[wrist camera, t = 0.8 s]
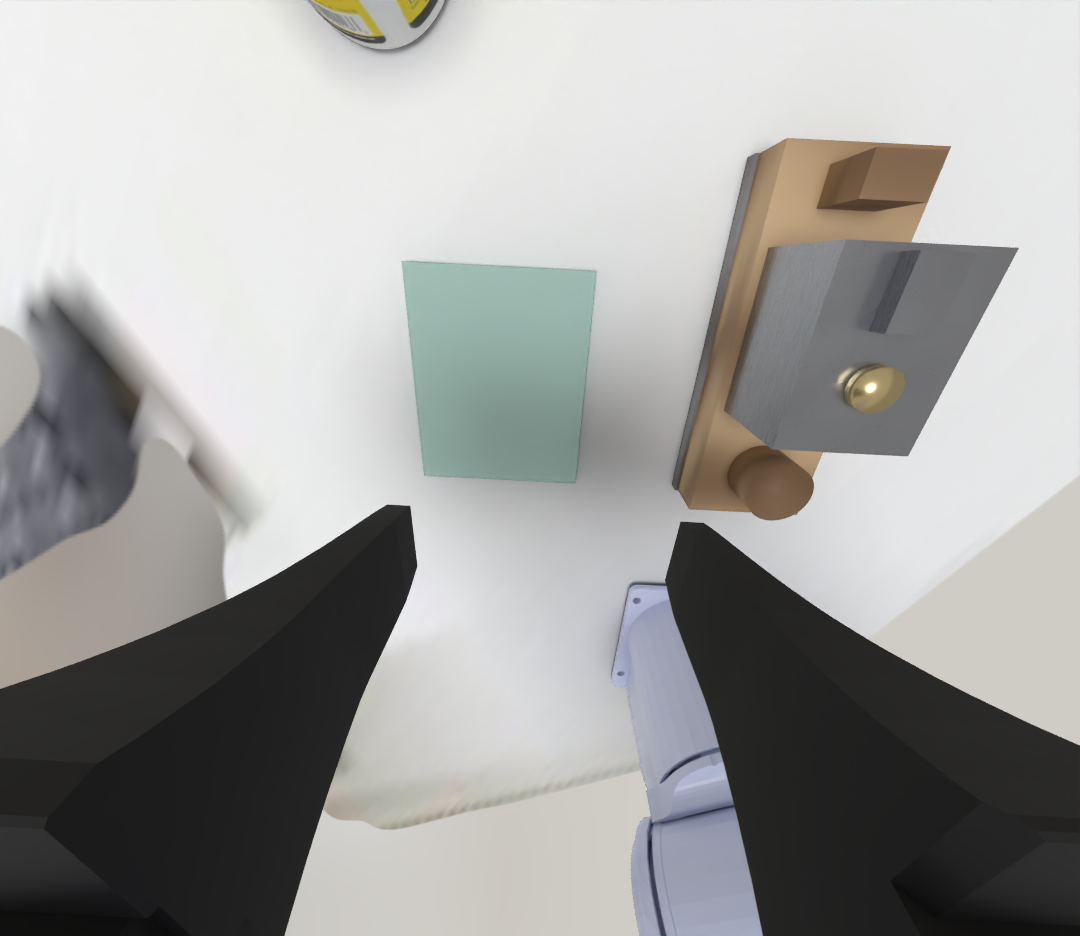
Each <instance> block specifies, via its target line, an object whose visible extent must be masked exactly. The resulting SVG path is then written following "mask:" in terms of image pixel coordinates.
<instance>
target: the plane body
mask: <svg viewBox="0 0 1080 936" xmlns="http://www.w3.org/2000/svg"><path fill="white" fill-rule="evenodd" d="M950 148H951V146H933V145H913V144H893V143H873V142H853V141H833V140H813V139H794V138H787V139H785V140H783V141H781V142H779V143H778V144H776V145H774V146H772V147H771V148H769V149H767V150H765V151H763V152H762V153H760V154H758V153H755V154H753V155H752V156H750V157H748V159H747V164H746V168H745V172H744V177H743V181H742V185H741V189H740V194H739V198H738V202H737V207H736V211H735V215H734V220H733V224H732V228H731V233H730V237H729V241H728V246H727V250H726V254H725V258H724V263H723V267H722V271H721V276H720V280H719V284H718V289H717V293H716V297H715V302H714V306H713V310H712V315H711V319H710V323H709V328H708V332H707V336H706V340H705V345H704V349H703V353H702V358H701V362H700V366H699V371H698V375H697V379H696V384H695V388H694V392H693V397H692V401H691V405H690V409H689V414H688V418H687V422H686V427H685V431H684V435H683V440H682V444H681V448H680V453H679V457H678V461H677V466H676V470H675V474H674V479H673V483H672V485H673V487H674V489H675V490H678V491H679V492H680V494H681V496H682V498H683V499H684V501H685V503H686V504H687V506H688V508H689V509H696V510H716V511H736V512H752V513H753V514H754V515H755V516H757V517H758V518H761V519H764V520H780V519H784V518H787V517H790V516H792V515H794V514H795V515H797V513H798V511H800V510H801V509H802V508H803V507H804V506H805V505H806V504H807V503H808V501H809V500H810V498H811V496H812V493H813V489H814V483H813V479H812V477H813V475H814V472H815V470H816V468H817V465H818V463H819V460H820V458H821V456H822V453H823V452H814V451H794V450H774V449H771V448H770V447H769V446H767V445H766V444H765V443H764V442H762V441H761V440H760V439H759V438H757V437H756V436H755V435H754V434H752V433H751V432H750V431H749V430H747V429H746V428H745V427H744V426H742V425H741V424H740V423H739V422H737V421H736V420H735V419H734V418H732V417H731V416H730V415H729V414H727V413H726V412H725V411H724V407H725V404H726V400H727V397H728V393H729V389H730V386H731V382H732V378H733V375H734V371H735V367H736V364H737V360H738V356H739V353H740V349H741V345H742V342H743V338H744V335H745V331H746V327H747V324H748V320H749V316H750V313H751V309H752V305H753V302H754V298H755V294H756V291H757V287H758V284H759V280H760V276H761V273H762V269H763V265H764V262H765V258H766V254H767V251H768V248H769V247H778V246H788V245H797V244H807V243H816V242H825V241H835V240H844V239H850V240H870V241H889V242H909V243H911V241H912V238H913V236H914V234H915V231H916V229H917V227H918V224H919V222H920V219H921V217H922V215H923V212H924V210H925V207H926V205H927V203H928V200H929V198H930V196H931V193H932V191H933V188H934V186H935V184H936V181H937V179H938V176H939V174H940V172H941V169H942V167H943V164H944V162H945V160H946V157H947V155H948V153H949V150H950Z"/></svg>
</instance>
